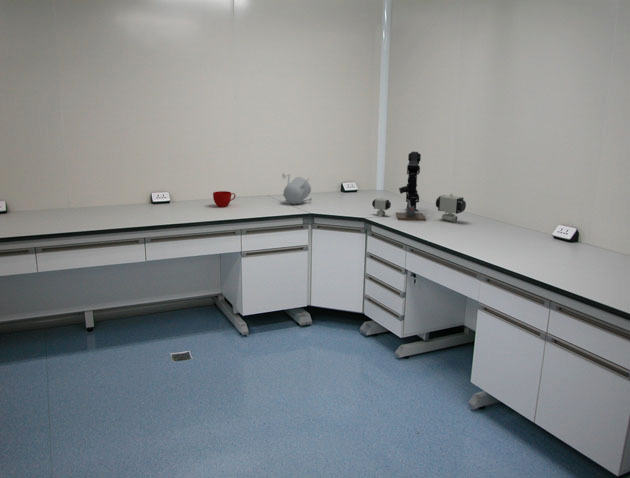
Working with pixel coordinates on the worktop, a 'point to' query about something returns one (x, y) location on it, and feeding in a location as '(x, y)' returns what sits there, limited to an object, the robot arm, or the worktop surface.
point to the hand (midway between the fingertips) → (411, 205)
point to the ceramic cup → (222, 198)
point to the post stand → (410, 215)
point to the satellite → (296, 190)
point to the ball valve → (450, 206)
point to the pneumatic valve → (381, 206)
